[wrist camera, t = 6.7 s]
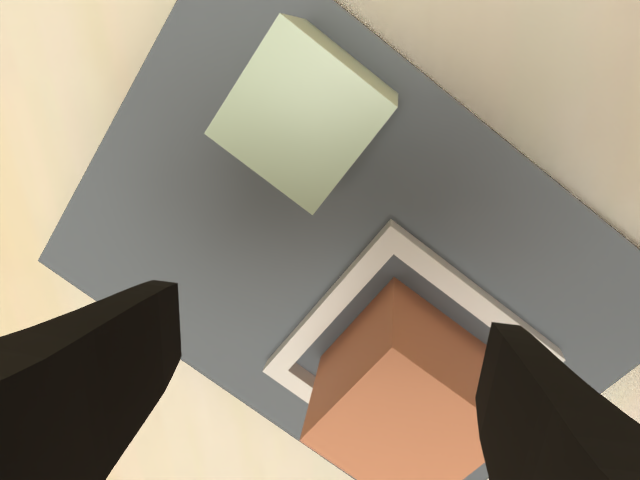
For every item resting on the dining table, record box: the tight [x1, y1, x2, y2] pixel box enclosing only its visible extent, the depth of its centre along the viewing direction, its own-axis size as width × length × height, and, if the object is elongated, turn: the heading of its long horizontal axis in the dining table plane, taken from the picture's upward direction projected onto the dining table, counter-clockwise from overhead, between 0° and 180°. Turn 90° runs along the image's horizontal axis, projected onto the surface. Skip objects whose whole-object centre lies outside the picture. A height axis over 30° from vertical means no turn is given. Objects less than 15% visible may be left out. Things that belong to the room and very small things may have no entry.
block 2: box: [299, 277, 486, 480], centre depth 19 cm, size 5×5×5 cm
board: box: [38, 0, 640, 480], centre depth 20 cm, size 22×16×2 cm
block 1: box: [204, 13, 398, 215], centre depth 16 cm, size 4×4×4 cm
